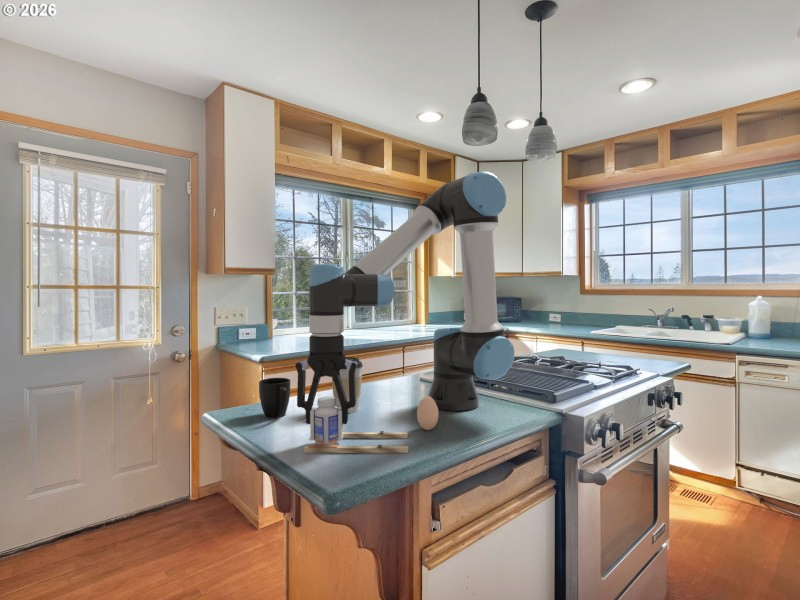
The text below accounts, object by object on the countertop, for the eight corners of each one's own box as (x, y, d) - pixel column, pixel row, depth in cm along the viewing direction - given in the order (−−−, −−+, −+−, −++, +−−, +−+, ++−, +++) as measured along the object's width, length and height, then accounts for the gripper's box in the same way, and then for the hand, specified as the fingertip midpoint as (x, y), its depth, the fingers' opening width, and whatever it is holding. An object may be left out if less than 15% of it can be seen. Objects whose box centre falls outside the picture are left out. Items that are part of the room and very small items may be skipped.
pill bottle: (339, 437, 98) (339, 394, 98) (339, 445, 93) (339, 401, 92) (315, 438, 97) (315, 395, 97) (313, 446, 92) (313, 401, 92)
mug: (267, 425, 108) (266, 388, 108) (256, 413, 118) (255, 379, 118) (298, 420, 112) (298, 384, 112) (285, 409, 122) (285, 376, 122)
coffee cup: (324, 412, 120) (324, 358, 119) (341, 404, 128) (340, 354, 128) (353, 415, 116) (353, 361, 116) (368, 407, 125) (368, 356, 124)
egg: (412, 428, 106) (412, 395, 105) (428, 424, 109) (428, 392, 108) (426, 434, 101) (426, 400, 101) (442, 430, 105) (442, 396, 104)
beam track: (407, 436, 100) (407, 431, 100) (408, 452, 90) (408, 446, 90) (313, 436, 100) (313, 430, 100) (304, 452, 90) (304, 446, 90)
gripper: (369, 332, 98) (369, 432, 99) (289, 332, 98) (290, 432, 99) (367, 336, 91) (367, 444, 91) (280, 336, 91) (281, 444, 91)
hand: (327, 438), depth 95 cm, fingers closed on pill bottle, 5 cm apart
